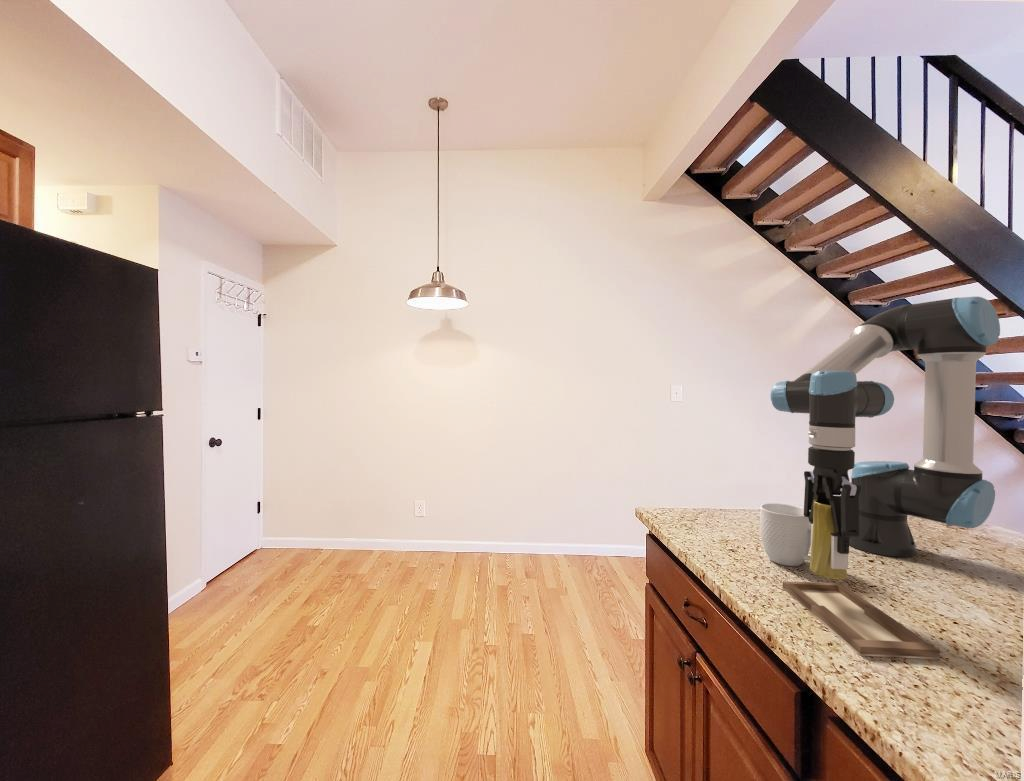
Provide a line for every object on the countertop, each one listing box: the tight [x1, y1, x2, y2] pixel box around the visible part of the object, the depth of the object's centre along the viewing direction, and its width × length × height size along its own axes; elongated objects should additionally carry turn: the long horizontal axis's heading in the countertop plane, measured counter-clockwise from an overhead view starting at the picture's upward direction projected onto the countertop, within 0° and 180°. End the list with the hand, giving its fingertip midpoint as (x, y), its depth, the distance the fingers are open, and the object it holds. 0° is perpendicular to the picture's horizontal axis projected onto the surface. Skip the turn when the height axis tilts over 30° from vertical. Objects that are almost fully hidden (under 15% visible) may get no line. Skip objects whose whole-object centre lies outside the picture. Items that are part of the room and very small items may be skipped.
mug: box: [759, 502, 811, 567], centre depth 105 cm, size 15×11×13 cm
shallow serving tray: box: [782, 581, 940, 660], centre depth 81 cm, size 12×23×2 cm, turn 176°
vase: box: [809, 500, 848, 580], centre depth 87 cm, size 6×6×14 cm
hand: (828, 561), depth 87 cm, fingers closed on vase, 6 cm apart
